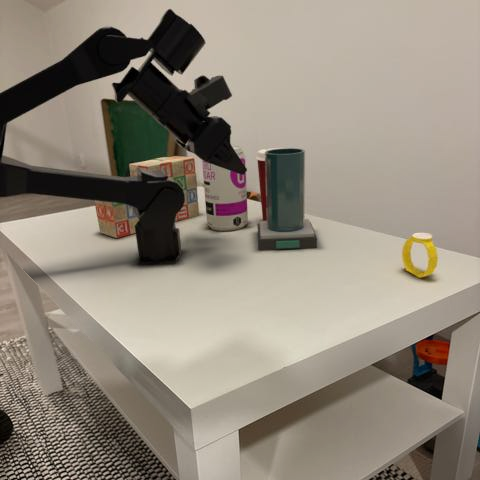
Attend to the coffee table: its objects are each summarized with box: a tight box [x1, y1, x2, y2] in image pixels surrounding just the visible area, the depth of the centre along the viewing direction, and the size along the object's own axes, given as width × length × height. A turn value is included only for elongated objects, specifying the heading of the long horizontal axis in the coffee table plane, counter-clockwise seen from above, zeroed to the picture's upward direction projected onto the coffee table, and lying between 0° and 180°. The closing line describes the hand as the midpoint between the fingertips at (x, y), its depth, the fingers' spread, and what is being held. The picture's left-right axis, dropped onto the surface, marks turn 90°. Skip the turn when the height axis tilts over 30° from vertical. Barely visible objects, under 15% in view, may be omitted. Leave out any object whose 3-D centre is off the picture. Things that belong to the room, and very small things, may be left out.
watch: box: [401, 232, 439, 279], centre depth 73 cm, size 6×3×6 cm, turn 22°
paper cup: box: [255, 147, 285, 221], centre depth 100 cm, size 8×8×14 cm
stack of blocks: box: [94, 155, 200, 239], centre depth 104 cm, size 21×6×12 cm, turn 136°
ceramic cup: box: [265, 147, 306, 232], centre depth 88 cm, size 7×7×13 cm
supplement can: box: [201, 145, 249, 232], centre depth 99 cm, size 8×8×15 cm
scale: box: [257, 218, 318, 251], centre depth 92 cm, size 10×10×2 cm
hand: (236, 168), depth 84 cm, fingers open, 9 cm apart
